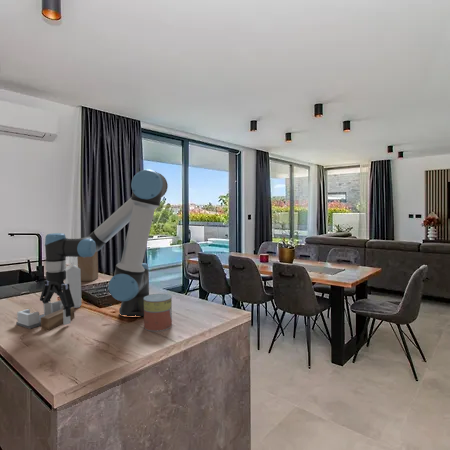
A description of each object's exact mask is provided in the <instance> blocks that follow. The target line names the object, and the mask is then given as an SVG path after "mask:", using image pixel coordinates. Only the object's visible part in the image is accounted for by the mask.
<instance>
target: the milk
mask: <svg viewBox="0 0 450 450" xmlns="http://www.w3.org/2000/svg"><path fill="white" fill-rule="evenodd" d="M65 271H66V279H65V280H64V284H69V288H70V292H71V295H72V299H73V302H74V309H77V308H81V307H80V306H81V305H83V304H82V281H81V272H80V268H78V266H76V265H75V263H74V262H73V261H70V264H69V265H68V266H67V265H66V269H65Z"/></svg>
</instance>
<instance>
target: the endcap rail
mask: <svg viewBox="0 0 450 450" xmlns="http://www.w3.org/2000/svg"><path fill="white" fill-rule="evenodd" d="M66 306H67V305H66ZM63 308H64V306H63V304H62V302H61V300H56V301H53V302H52V301H51V313H54V312H56V311H58V310H61V309H63ZM16 315H17V321H16V323H15V324H16V325H17V326H20V327H22V328H26V329H30V330H31V329H34V328H38V327H41V318H42V317H44V313H43V314H40V312H39V311H33V312H31V310H30V309H27V308H26V309H24V310H20V311H19V310H18V311H17V312H16Z"/></svg>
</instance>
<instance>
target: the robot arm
mask: <svg viewBox="0 0 450 450" xmlns="http://www.w3.org/2000/svg"><path fill="white" fill-rule="evenodd" d="M168 187H169V185H168V181H167V179H166V177H165V176H164V175H162V174H161V173H159V172H157V170H154V169H142V170H140V171H138V172H137V173H135V175H134V176H133V177H132V179H131V190H132V194H131V197H130V198H129V199H127V200H126V202H124V203H123V204H122V205H121V206H120V207H118V209H116V210H115V211H114V212H113V213H112V214H111V215H110V216H108V218H106V219H105V221H103V222H102V223H101V224H100V225H99V226H98V227H97V228H96V229H94V231H92V232H91V233H90V234H89V235H88V236H85V237H81V238H67V236H66V234H65V233H61V232H55V233H52V232H51V233H48V234H46V235H45V236H44V237H45V239H44V240H45V241H44V243H45V244H44V246H45V250H44V251H45V271H46V272H45V280H43V285H42V290H41V295H40V298H39V301H40V302H42V303H43V314H44V316H47V315H49V314H51V303H52V301H51V299H52V297H53V296H54V294H55V295H56V296H58V297H59V299H60V300H59V301H61V302H62V304H63V306H64V309H63V324H62V325H64V326H65V325H69V324H71V320H70V316H71V308H72V307H74V302H73V299H72V295H71V292H70V288H69V284H65V279H66V271H65V269H66V267H67V261H66V260H67V258H68V257H69V258H70V257H73V258H74V257H75V258H76V257H92V256H93V255H94V254H95V252H100V250H102V249H103V248H104V245H106V243H107V242H109V241H110V240H111V239H112V238H113V237H114V236H115V235H117V234H118V233H119V232H120V231H121V230H122V229H123V228H124V227H126V225H128V229H127V232H126V238H125V242H124V246H123V251H122V255H121V260H120V262H118V263H116V265H115V270H114V274H113V276H112V277H111V278H110V280H109V282H108V291H109V294H110V295H111V297H112V298H113V299H115V300H117V301H119V302H121V304H120V307H119V310H118V314H119V313H120V314H121V315H127V316H135V315H136V316H143V317H142V318H144V299H143V298H144V297H145V296H148V295H150V269H149V264H148V263H146V262H144V258H145V253H146V249H147V246H148V241H149V235H150V231H151V228H152V222H153V218H154V214H155V211H156V209H158V208H159V207H160V206H161V205H160V204H161V202H162V201H161V200H162V198H163V197H164V196H165V195H166V193H167V191H168ZM66 305H67V306H66Z"/></svg>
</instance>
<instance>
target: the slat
mask: <svg viewBox="0 0 450 450" xmlns="http://www.w3.org/2000/svg"><path fill="white" fill-rule="evenodd" d="M63 309H64V308H63ZM63 309H61V310H58V311H56V312H54V313H51V314H49V315H47V316H44V317H42V318H41V326H40V329H41V330H43V331H50V330H52V329H54V328H57V327H58V326H61V325H63ZM73 319H75V308H74V307H72V308H71V316H70V321H71V320H73Z"/></svg>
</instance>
